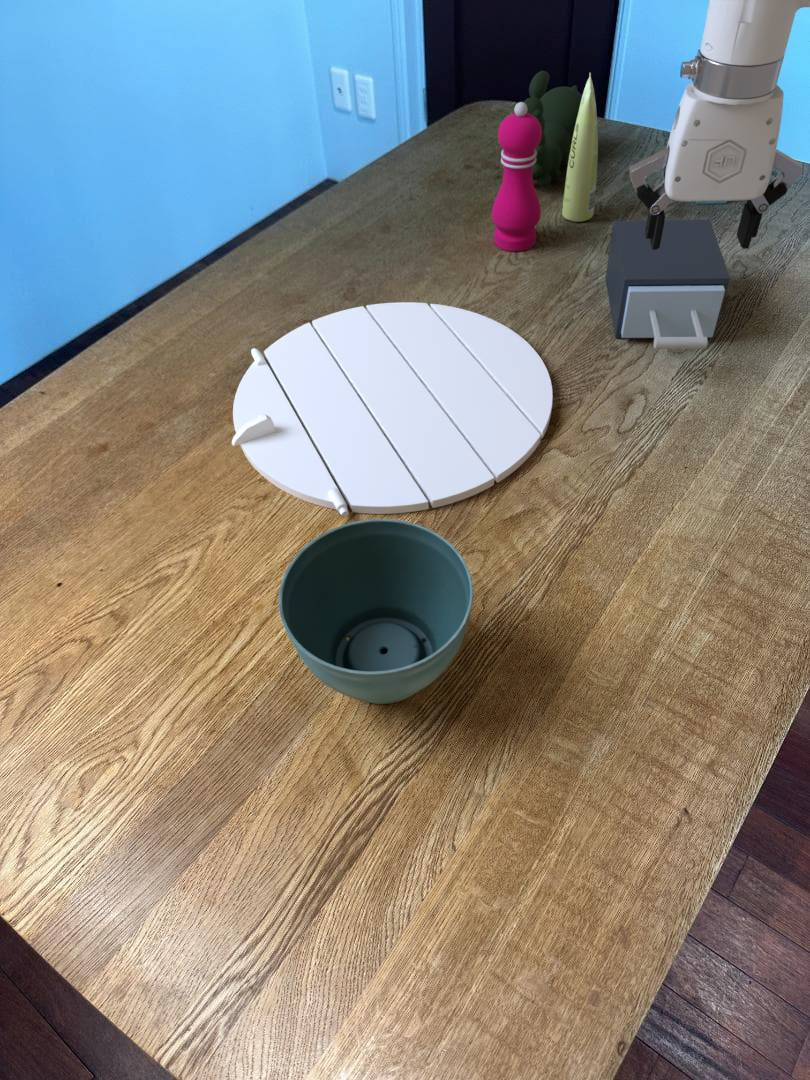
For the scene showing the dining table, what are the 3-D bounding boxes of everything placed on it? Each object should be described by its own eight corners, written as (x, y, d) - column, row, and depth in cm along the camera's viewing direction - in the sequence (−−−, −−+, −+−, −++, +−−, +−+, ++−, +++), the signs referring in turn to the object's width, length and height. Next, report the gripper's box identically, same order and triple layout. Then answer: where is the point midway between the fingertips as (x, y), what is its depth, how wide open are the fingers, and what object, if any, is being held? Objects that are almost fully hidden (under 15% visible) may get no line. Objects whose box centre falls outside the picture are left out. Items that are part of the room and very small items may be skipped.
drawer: (723, 372, 99) (736, 324, 94) (627, 372, 100) (636, 325, 95) (695, 280, 113) (706, 234, 107) (612, 281, 114) (618, 235, 108)
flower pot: (485, 605, 79) (487, 530, 71) (454, 755, 69) (453, 689, 61) (327, 581, 82) (311, 507, 74) (275, 722, 72) (250, 654, 64)
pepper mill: (482, 246, 124) (484, 107, 109) (506, 225, 127) (511, 88, 112) (523, 258, 121) (531, 117, 106) (547, 236, 124) (558, 97, 109)
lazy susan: (286, 564, 84) (280, 543, 81) (193, 362, 108) (186, 341, 106) (616, 443, 93) (620, 419, 90) (462, 281, 117) (462, 260, 115)
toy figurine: (552, 213, 132) (597, 137, 145) (559, 93, 117) (609, 20, 130) (498, 205, 135) (547, 130, 148) (498, 87, 120) (552, 15, 133)
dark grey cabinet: (714, 338, 105) (730, 278, 99) (615, 338, 106) (624, 279, 100) (696, 277, 115) (709, 219, 108) (605, 278, 116) (613, 220, 109)
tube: (552, 213, 129) (563, 80, 115) (576, 203, 131) (590, 70, 116) (576, 226, 126) (590, 91, 111) (601, 216, 128) (618, 81, 113)
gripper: (648, 91, 75) (621, 261, 88) (843, 86, 74) (786, 260, 86) (638, 62, 80) (614, 227, 93) (821, 56, 78) (771, 225, 91)
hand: (697, 242), depth 90 cm, fingers open, 9 cm apart
